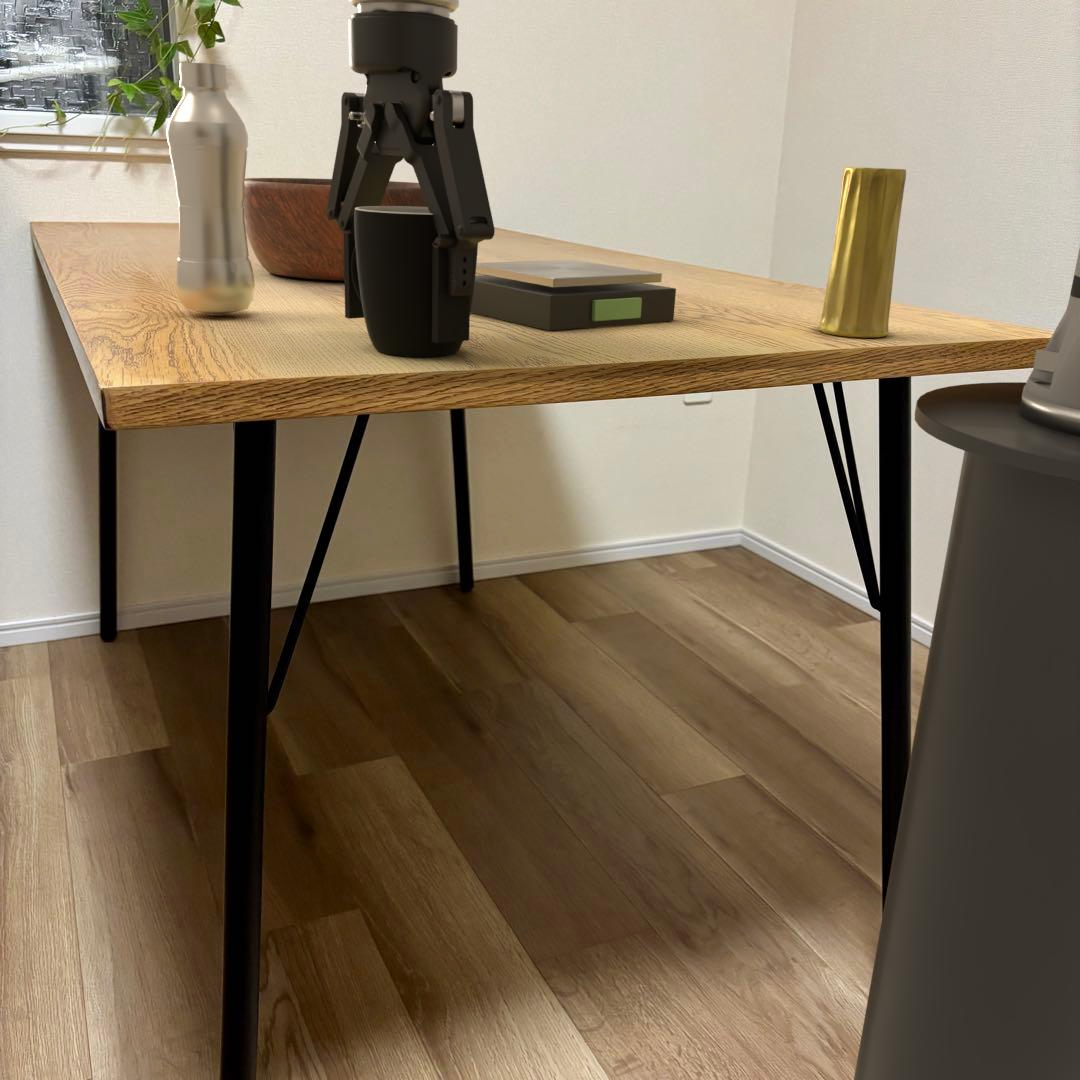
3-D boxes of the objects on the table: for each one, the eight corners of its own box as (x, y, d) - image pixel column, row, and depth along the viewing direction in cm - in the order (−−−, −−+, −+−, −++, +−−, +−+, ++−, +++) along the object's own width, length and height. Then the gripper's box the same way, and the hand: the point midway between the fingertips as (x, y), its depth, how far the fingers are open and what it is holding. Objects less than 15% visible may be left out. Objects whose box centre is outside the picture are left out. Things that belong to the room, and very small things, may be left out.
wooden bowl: (425, 263, 144) (426, 181, 141) (483, 285, 122) (485, 190, 119) (231, 262, 136) (226, 175, 132) (255, 286, 114) (250, 183, 110)
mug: (501, 352, 82) (504, 212, 79) (408, 365, 76) (407, 214, 72) (401, 331, 90) (400, 203, 86) (309, 341, 84) (304, 203, 80)
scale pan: (661, 282, 101) (662, 273, 101) (553, 287, 93) (553, 278, 93) (572, 267, 111) (572, 259, 110) (466, 271, 103) (467, 263, 103)
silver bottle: (214, 306, 99) (200, 67, 92) (272, 314, 96) (262, 68, 89) (160, 314, 93) (141, 60, 87) (220, 322, 90) (205, 61, 84)
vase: (891, 340, 96) (916, 169, 91) (820, 335, 97) (841, 166, 92) (883, 330, 102) (906, 169, 97) (816, 326, 102) (836, 166, 98)
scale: (676, 321, 102) (679, 288, 101) (552, 331, 93) (554, 296, 92) (571, 300, 113) (572, 271, 112) (451, 308, 104) (452, 276, 103)
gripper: (275, 19, 82) (286, 310, 89) (457, -7, 64) (452, 358, 71) (363, 29, 86) (367, 305, 93) (555, 7, 69) (541, 350, 76)
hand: (404, 328), depth 82 cm, fingers closed on mug, 12 cm apart
